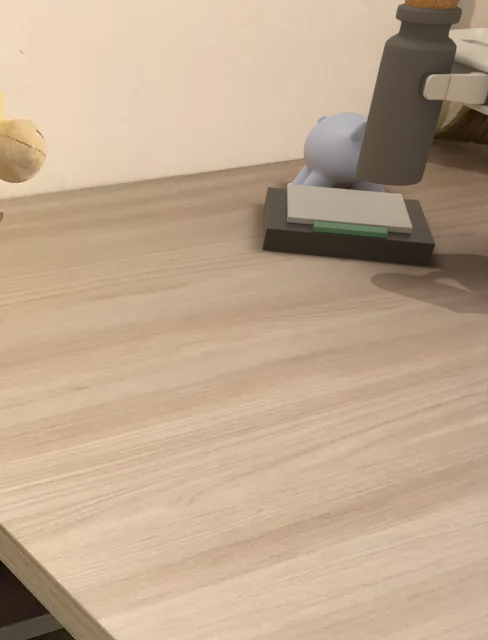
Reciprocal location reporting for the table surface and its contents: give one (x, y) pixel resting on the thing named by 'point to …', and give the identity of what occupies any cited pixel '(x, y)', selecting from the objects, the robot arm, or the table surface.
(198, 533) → the table surface
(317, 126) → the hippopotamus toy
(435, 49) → the bottle
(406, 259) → the scale
